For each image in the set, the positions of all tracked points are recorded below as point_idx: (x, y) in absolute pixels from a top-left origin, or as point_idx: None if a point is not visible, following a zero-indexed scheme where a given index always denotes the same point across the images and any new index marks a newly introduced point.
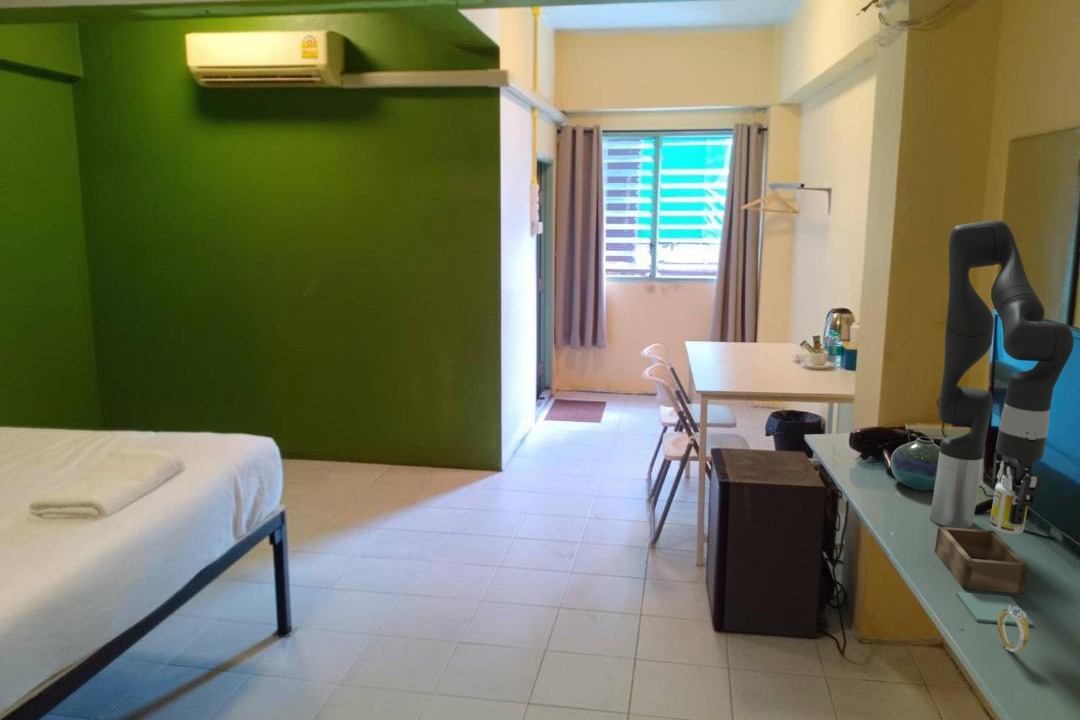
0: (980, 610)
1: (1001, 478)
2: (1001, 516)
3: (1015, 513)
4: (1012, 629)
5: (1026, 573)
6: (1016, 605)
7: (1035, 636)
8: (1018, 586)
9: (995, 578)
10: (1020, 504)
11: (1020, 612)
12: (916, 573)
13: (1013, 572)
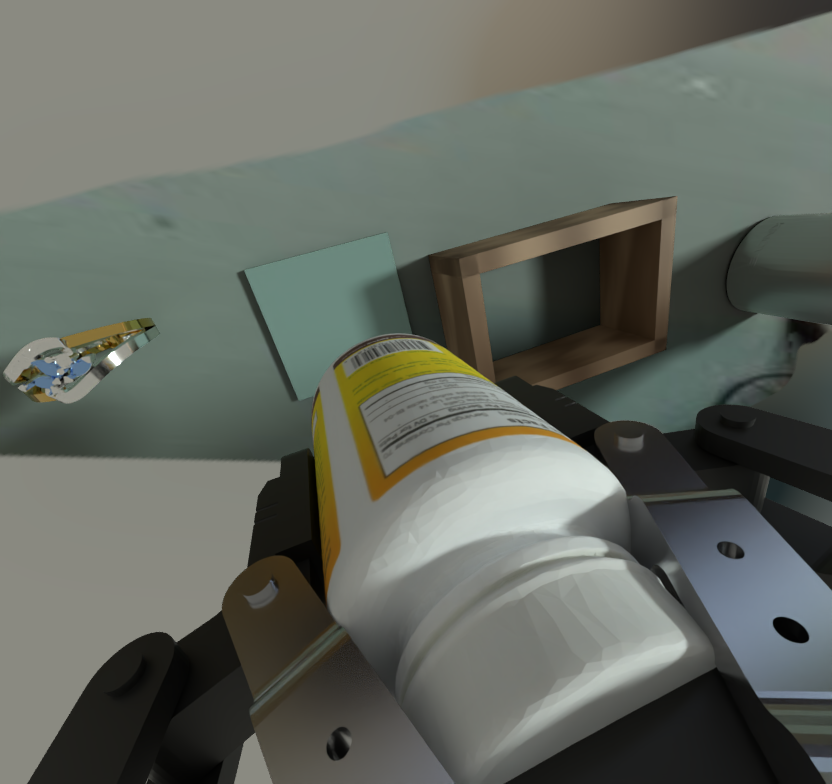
0: (303, 285)
1: (662, 554)
2: (326, 412)
3: (265, 524)
4: (253, 353)
5: None
6: None
7: (247, 399)
8: None
9: (455, 335)
10: (96, 682)
11: (71, 387)
12: (473, 126)
13: None
